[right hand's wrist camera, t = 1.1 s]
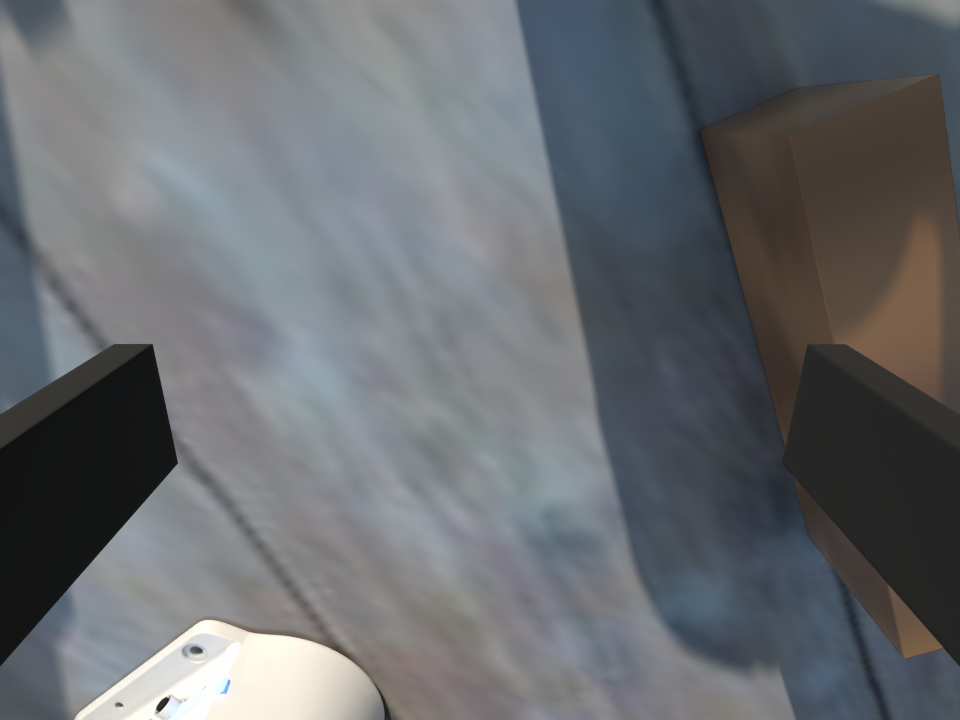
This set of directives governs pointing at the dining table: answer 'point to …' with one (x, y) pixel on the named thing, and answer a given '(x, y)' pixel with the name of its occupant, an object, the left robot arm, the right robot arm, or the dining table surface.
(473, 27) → the dining table surface
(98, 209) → the dining table surface
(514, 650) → the dining table surface
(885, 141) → the bar
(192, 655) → the left robot arm
